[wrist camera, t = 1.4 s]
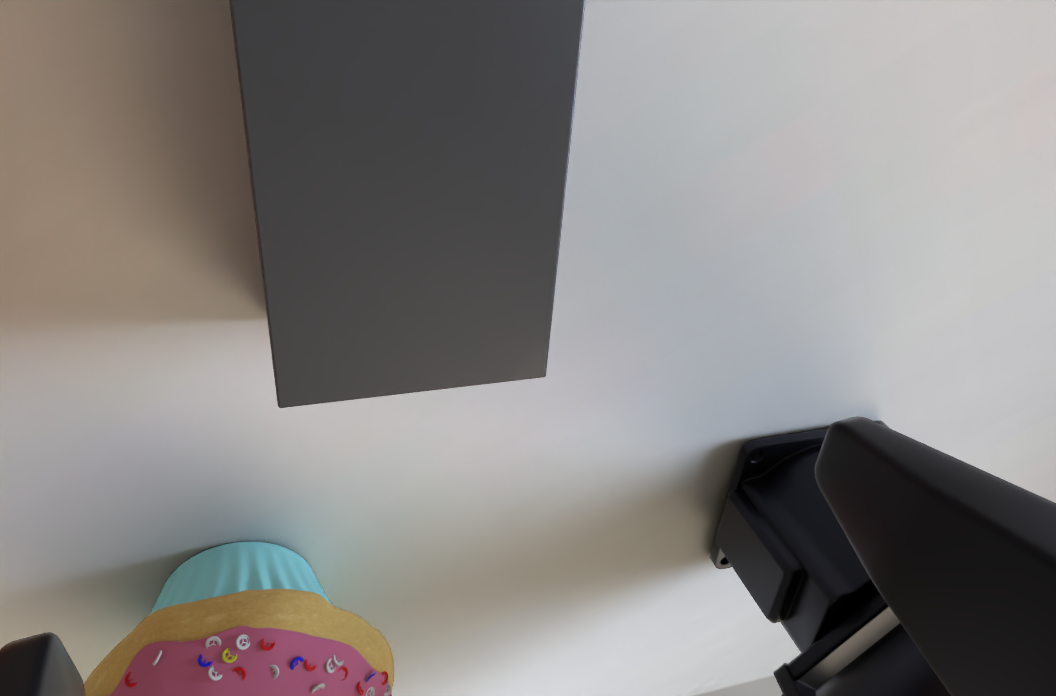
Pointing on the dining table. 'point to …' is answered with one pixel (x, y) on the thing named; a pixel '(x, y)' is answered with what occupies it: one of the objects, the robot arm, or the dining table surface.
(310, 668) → the cupcake
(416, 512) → the dining table surface
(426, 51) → the black bar
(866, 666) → the robot arm
